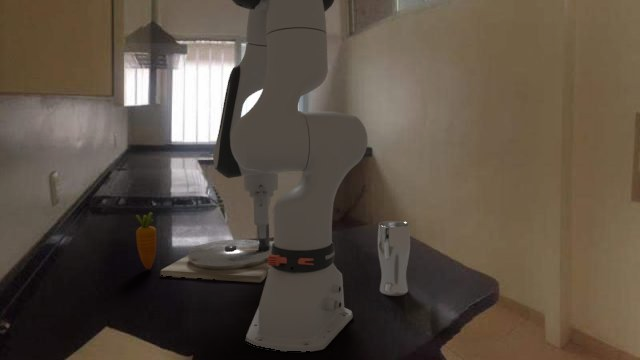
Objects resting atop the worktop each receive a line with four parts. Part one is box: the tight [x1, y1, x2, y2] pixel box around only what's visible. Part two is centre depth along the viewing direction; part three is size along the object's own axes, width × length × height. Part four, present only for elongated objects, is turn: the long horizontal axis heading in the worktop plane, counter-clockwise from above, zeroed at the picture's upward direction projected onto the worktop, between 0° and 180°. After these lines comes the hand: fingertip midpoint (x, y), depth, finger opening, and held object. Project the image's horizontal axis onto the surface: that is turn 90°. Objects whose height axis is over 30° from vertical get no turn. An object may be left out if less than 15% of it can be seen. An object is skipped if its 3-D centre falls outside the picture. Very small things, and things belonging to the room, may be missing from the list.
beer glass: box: [377, 220, 411, 297], centre depth 102 cm, size 7×7×15 cm
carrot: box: [135, 211, 158, 270], centre depth 120 cm, size 5×5×15 cm
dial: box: [187, 223, 272, 270], centre depth 125 cm, size 22×22×10 cm
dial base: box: [160, 254, 272, 283], centre depth 126 cm, size 26×26×2 cm
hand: (262, 235), depth 125 cm, fingers open, 5 cm apart
